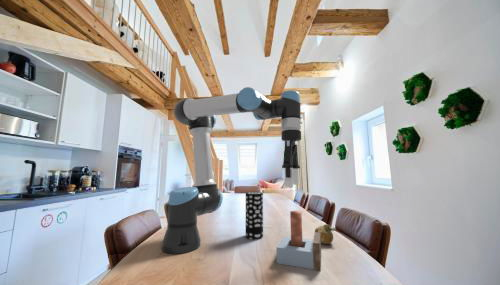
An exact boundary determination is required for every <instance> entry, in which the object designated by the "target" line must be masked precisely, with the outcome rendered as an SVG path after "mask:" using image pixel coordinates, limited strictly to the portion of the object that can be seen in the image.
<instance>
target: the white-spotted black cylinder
mask: <svg viewBox="0 0 500 285" xmlns="http://www.w3.org/2000/svg"><path fill="white" fill-rule="evenodd" d="M245 238H246V239H248V240H256V241H257V240H261V239H263V238H264V193H263V192H260V191H259V192H258V191H248V192H245Z"/></svg>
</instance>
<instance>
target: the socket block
mask: <svg viewBox="0 0 500 285" xmlns="http://www.w3.org/2000/svg"><path fill="white" fill-rule="evenodd" d="M302 243H303V248H302V247H294V246H291V236H290V237H289V236H283V237H282V238H281V239H280V241H279V243H278V244H277V246H276V247H275V248H276V253H275V254H276V264H280V265H286V266H293V267H299V268H303V269H304V268H305V269H311V270H314V260H313V239H306V238H302Z"/></svg>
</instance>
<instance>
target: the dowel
mask: <svg viewBox="0 0 500 285" xmlns="http://www.w3.org/2000/svg"><path fill="white" fill-rule="evenodd" d="M289 215H290V216H289V219H290V237H291V246H294V247H302V248H303V243H302V239H303V217H302V215H303V214H302V211H301V210H291V211H289Z"/></svg>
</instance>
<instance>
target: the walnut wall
mask: <svg viewBox="0 0 500 285" xmlns="http://www.w3.org/2000/svg"><path fill="white" fill-rule="evenodd" d="M312 240H313V260H314V269H313V270H314V271H320V272H321V271H322V270H321V267H322V243H321V235H320V232H315V231H314V235H313V239H312Z"/></svg>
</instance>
